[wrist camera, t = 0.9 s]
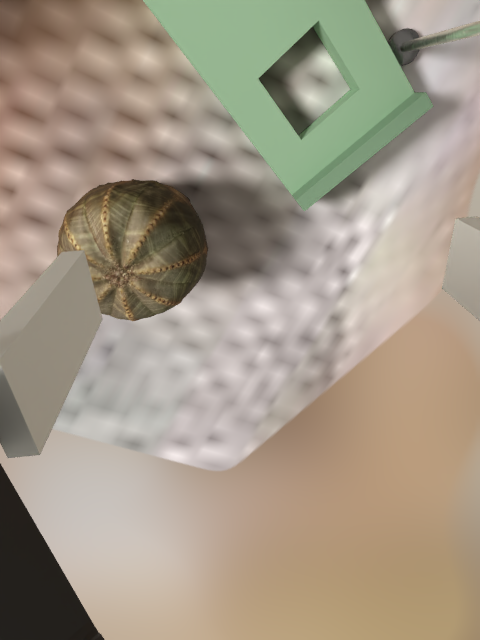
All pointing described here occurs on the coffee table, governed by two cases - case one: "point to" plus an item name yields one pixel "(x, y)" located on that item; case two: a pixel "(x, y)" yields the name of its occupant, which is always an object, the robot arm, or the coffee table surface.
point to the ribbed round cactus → (137, 246)
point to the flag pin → (427, 40)
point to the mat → (265, 49)
